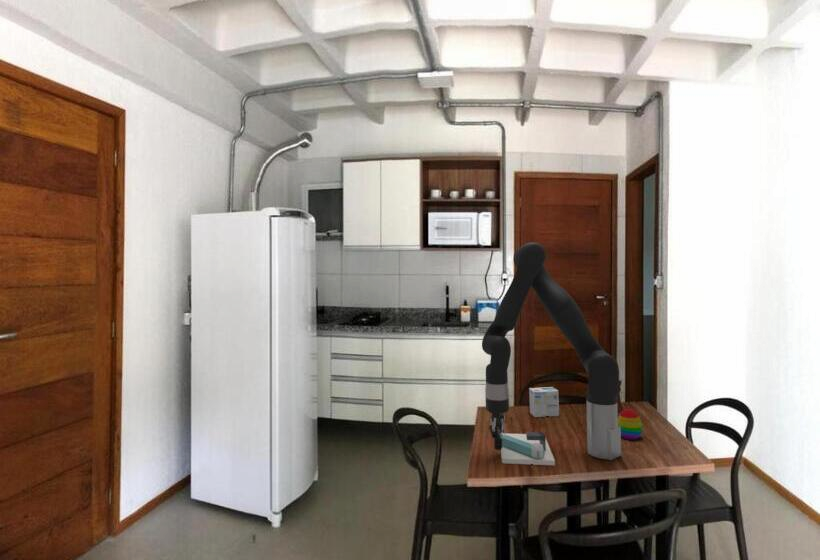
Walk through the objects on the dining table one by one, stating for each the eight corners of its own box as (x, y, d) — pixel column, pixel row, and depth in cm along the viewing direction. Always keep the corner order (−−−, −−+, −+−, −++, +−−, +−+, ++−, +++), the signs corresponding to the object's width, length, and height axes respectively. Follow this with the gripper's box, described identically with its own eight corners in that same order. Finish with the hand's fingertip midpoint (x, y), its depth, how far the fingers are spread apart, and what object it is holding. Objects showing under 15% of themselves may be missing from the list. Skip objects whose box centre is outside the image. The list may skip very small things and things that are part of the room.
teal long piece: (545, 456, 137) (545, 445, 137) (538, 459, 135) (538, 448, 135) (505, 441, 150) (505, 431, 150) (498, 444, 148) (498, 433, 148)
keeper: (545, 450, 142) (545, 436, 142) (527, 450, 143) (526, 435, 143) (544, 447, 145) (544, 432, 145) (526, 446, 146) (525, 432, 146)
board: (555, 465, 135) (554, 460, 135) (502, 463, 137) (502, 458, 137) (544, 438, 156) (544, 434, 156) (498, 437, 159) (498, 433, 159)
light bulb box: (553, 411, 187) (552, 386, 187) (559, 416, 180) (559, 390, 180) (529, 412, 186) (528, 387, 186) (534, 417, 180) (533, 391, 180)
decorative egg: (645, 436, 157) (644, 408, 156) (638, 443, 151) (638, 414, 150) (620, 431, 162) (620, 404, 162) (613, 437, 156) (613, 409, 156)
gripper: (504, 402, 135) (505, 458, 135) (512, 391, 147) (513, 443, 147) (480, 400, 138) (481, 455, 138) (490, 390, 150) (491, 440, 150)
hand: (498, 448), depth 142 cm, fingers closed
